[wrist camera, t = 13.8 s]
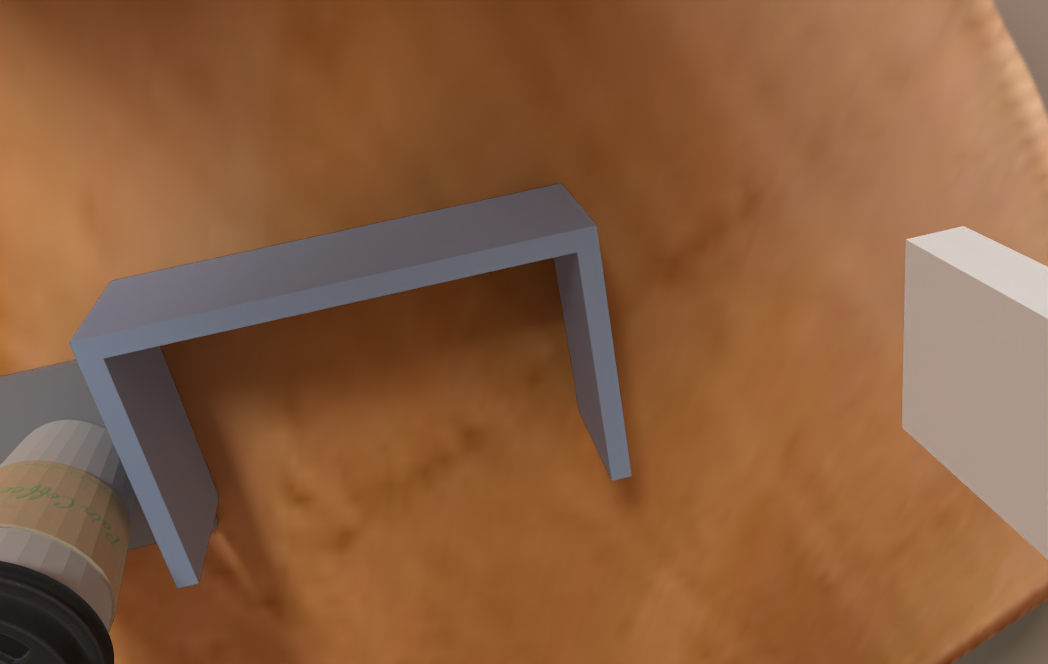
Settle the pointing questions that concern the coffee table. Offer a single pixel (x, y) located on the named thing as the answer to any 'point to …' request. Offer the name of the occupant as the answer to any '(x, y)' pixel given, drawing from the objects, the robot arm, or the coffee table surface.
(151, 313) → the grey u-shaped wall
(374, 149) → the coffee table surface
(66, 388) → the coaster
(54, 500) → the coffee cup
